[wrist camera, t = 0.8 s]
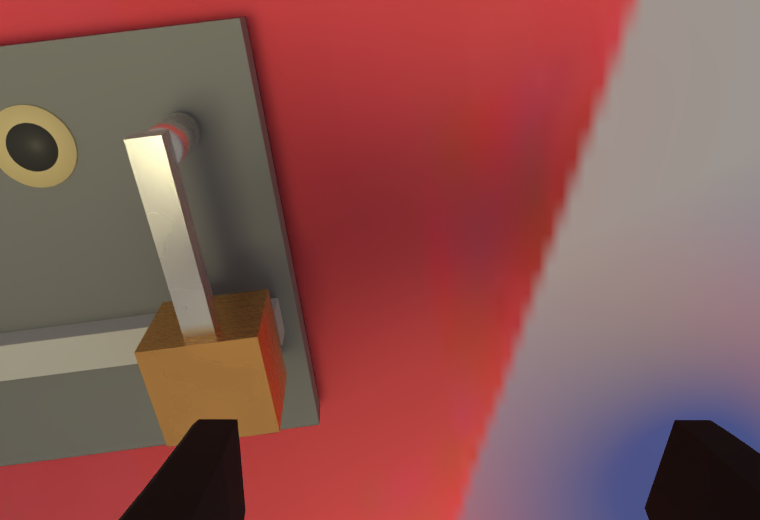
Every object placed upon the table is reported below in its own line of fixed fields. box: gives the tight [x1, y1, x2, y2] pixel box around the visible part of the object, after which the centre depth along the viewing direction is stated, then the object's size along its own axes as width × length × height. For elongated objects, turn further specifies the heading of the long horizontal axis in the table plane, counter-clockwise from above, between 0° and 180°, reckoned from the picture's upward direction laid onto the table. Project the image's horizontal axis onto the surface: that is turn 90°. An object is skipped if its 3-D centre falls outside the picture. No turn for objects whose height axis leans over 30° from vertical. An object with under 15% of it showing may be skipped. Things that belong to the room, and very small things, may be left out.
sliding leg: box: [124, 112, 287, 447], centre depth 15 cm, size 3×8×3 cm, turn 6°
